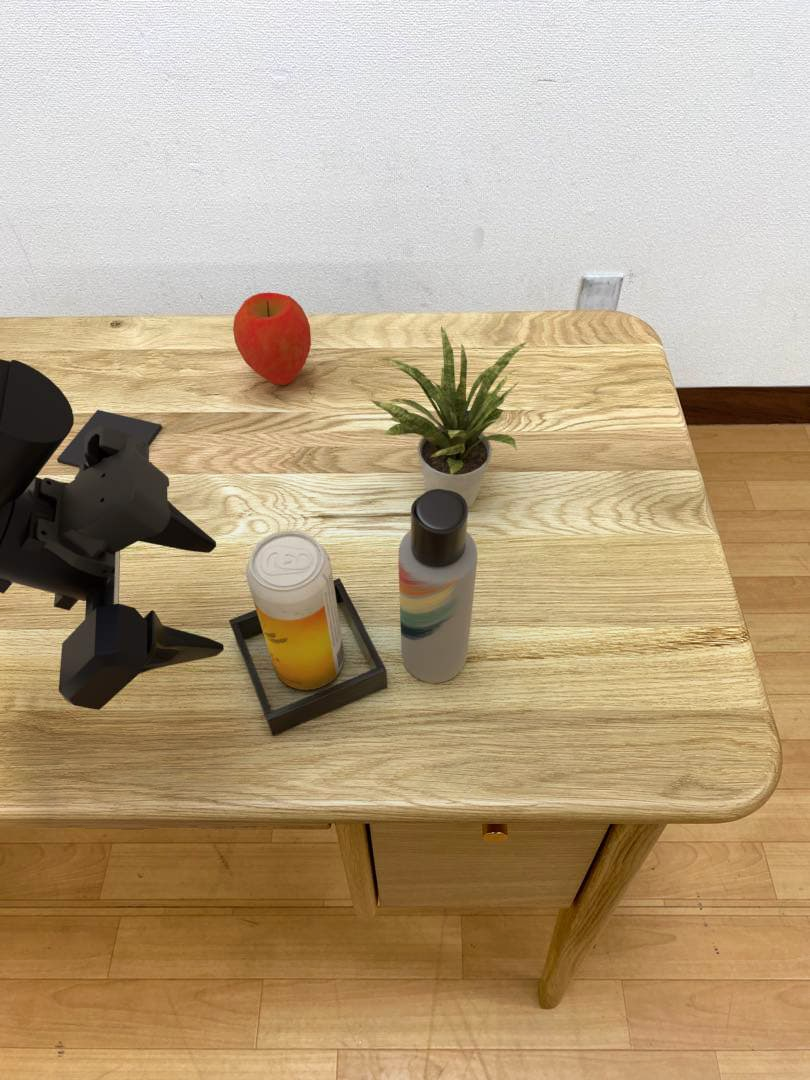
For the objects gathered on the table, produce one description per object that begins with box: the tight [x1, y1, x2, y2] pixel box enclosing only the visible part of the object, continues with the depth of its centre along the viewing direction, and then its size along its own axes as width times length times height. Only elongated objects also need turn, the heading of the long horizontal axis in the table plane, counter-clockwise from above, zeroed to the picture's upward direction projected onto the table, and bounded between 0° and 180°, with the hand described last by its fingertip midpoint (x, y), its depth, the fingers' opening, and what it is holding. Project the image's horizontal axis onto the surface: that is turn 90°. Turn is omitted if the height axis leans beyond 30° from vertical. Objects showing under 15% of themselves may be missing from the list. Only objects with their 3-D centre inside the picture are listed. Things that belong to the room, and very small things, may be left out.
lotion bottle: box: [397, 489, 478, 684], centre depth 59 cm, size 6×6×20 cm
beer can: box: [245, 529, 345, 691], centre depth 60 cm, size 6×6×15 cm
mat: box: [56, 409, 163, 468], centre depth 83 cm, size 8×8×1 cm
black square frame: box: [228, 577, 388, 737], centre depth 65 cm, size 10×10×3 cm
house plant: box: [368, 324, 528, 509], centre depth 72 cm, size 14×14×16 cm
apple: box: [232, 292, 312, 386], centre depth 85 cm, size 9×8×11 cm
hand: (216, 596), depth 56 cm, fingers open, 9 cm apart
